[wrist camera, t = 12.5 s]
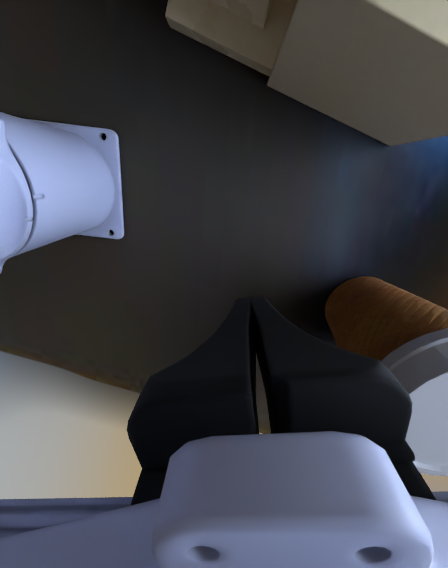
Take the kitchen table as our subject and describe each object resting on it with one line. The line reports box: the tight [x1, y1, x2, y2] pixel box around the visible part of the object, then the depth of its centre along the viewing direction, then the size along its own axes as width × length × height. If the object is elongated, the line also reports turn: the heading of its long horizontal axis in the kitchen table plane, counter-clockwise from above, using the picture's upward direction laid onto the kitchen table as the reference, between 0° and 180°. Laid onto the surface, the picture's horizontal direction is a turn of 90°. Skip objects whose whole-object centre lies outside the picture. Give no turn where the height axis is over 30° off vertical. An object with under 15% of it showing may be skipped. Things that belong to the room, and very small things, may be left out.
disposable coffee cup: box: [325, 277, 448, 476], centre depth 17 cm, size 10×10×12 cm
